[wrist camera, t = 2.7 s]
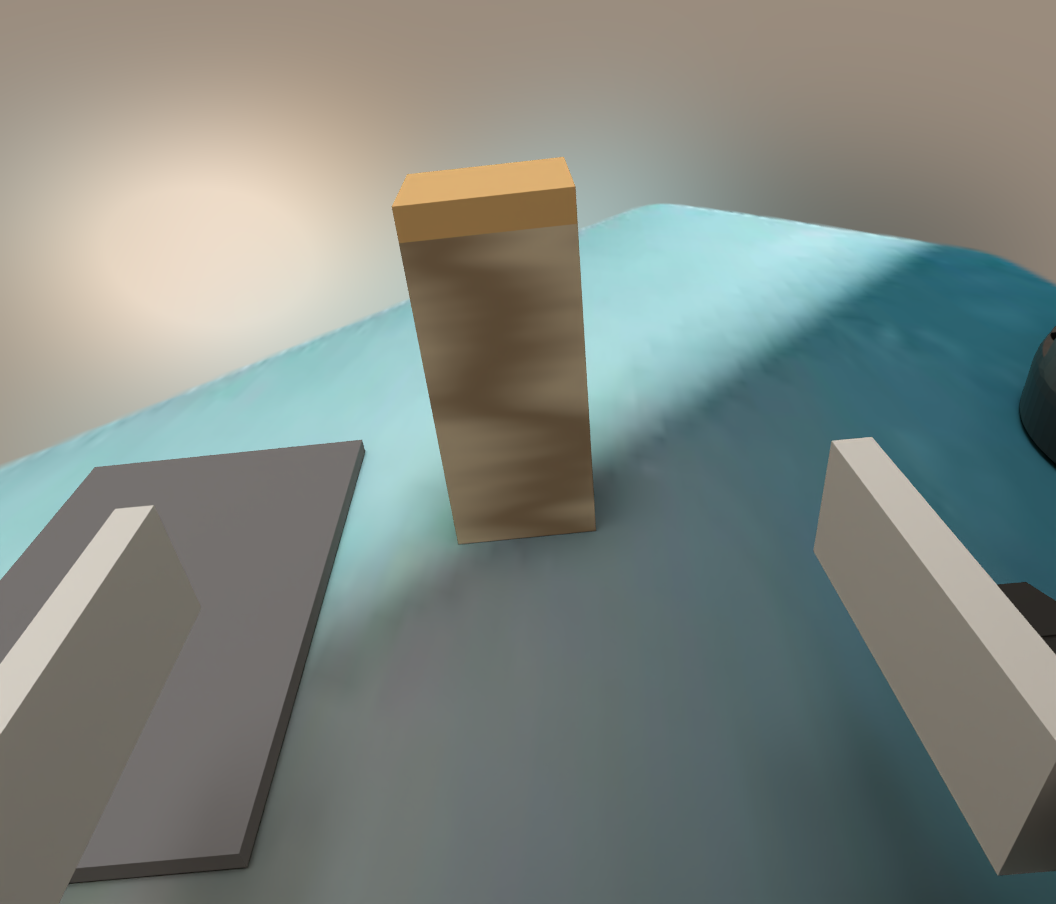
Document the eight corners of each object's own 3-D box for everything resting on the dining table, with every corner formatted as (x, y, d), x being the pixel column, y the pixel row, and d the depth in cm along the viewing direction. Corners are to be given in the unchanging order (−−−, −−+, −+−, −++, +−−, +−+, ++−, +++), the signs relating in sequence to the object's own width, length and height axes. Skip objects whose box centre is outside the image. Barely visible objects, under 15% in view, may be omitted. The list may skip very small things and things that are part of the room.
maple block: (584, 468, 29) (563, 156, 23) (595, 530, 26) (575, 186, 19) (462, 480, 29) (407, 174, 23) (458, 544, 26) (391, 206, 19)
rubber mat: (364, 451, 32) (361, 439, 32) (247, 867, 17) (239, 853, 17) (100, 478, 32) (94, 467, 32) (-249, 911, 17) (-267, 898, 17)
